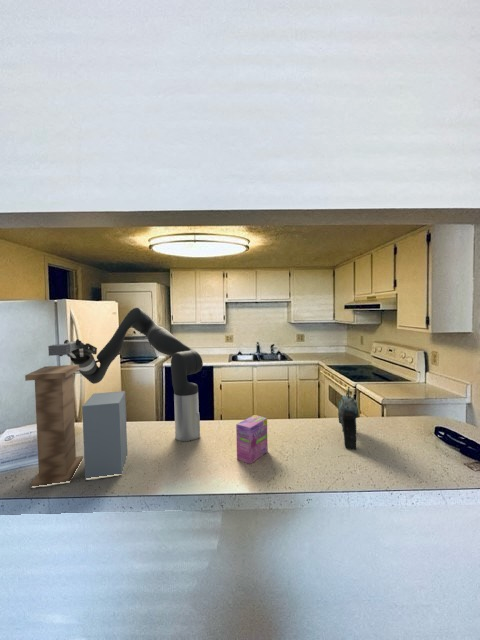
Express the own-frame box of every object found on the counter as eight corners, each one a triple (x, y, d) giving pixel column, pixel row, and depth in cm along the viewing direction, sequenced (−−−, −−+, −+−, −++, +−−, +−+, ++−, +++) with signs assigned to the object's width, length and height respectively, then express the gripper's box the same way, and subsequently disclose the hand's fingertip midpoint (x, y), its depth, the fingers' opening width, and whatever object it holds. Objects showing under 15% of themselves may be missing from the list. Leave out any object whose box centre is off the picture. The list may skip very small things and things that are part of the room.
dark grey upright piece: (360, 452, 101) (359, 393, 101) (339, 450, 103) (338, 392, 102) (353, 429, 120) (353, 379, 120) (336, 428, 122) (336, 379, 122)
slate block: (127, 454, 104) (125, 391, 103) (121, 475, 90) (119, 402, 90) (95, 458, 101) (93, 393, 101) (85, 481, 88) (82, 406, 87)
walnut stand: (82, 460, 100) (78, 364, 99) (69, 483, 87) (65, 372, 86) (49, 464, 98) (44, 366, 97) (30, 489, 84) (25, 375, 83)
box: (250, 464, 95) (250, 427, 95) (236, 459, 99) (235, 423, 98) (268, 451, 103) (267, 417, 103) (254, 447, 107) (253, 414, 106)
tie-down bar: (68, 347, 114) (68, 340, 114) (83, 347, 115) (83, 339, 115) (48, 355, 94) (48, 346, 94) (66, 354, 95) (66, 345, 95)
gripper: (65, 351, 124) (51, 333, 109) (102, 349, 127) (93, 331, 113) (63, 369, 121) (48, 352, 106) (101, 366, 124) (91, 350, 109)
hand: (71, 342), depth 109 cm, fingers closed on tie-down bar, 3 cm apart
